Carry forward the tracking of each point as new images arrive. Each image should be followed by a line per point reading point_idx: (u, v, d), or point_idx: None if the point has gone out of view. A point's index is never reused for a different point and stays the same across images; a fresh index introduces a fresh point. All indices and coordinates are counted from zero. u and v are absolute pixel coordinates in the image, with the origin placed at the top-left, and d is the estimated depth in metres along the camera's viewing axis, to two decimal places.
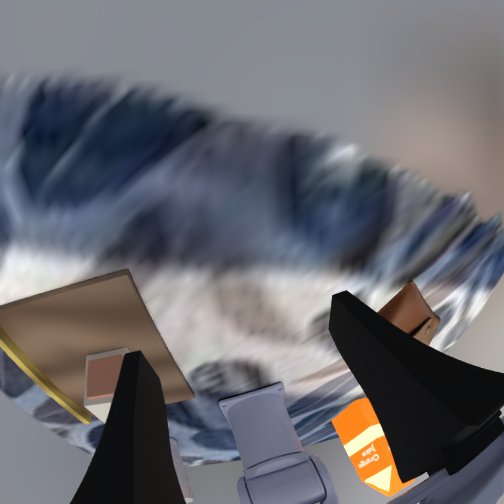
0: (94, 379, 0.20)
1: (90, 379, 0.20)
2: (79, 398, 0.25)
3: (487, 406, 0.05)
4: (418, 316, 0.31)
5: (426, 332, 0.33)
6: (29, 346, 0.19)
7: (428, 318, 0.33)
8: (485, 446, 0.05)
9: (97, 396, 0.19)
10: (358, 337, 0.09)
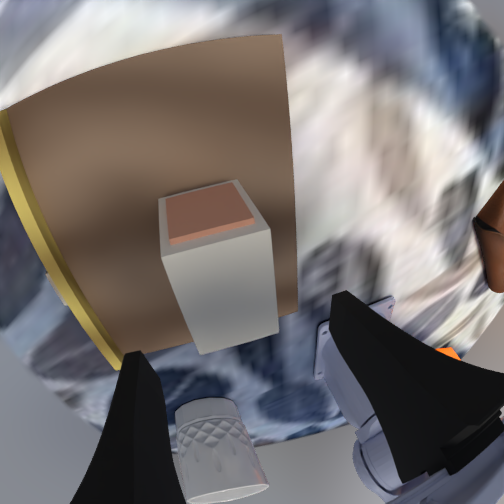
0: (183, 214, 0.12)
1: (173, 216, 0.12)
2: (115, 315, 0.17)
3: (487, 406, 0.05)
4: None
5: None
6: (54, 181, 0.12)
7: None
8: (485, 446, 0.05)
9: (193, 238, 0.11)
10: (358, 336, 0.09)
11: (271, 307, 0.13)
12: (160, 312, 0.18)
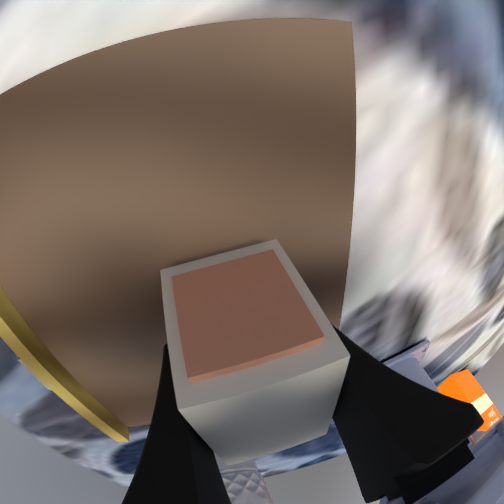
0: (205, 319, 0.07)
1: (188, 320, 0.07)
2: (112, 393, 0.13)
3: (443, 442, 0.04)
4: None
5: None
6: (7, 246, 0.07)
7: None
8: (448, 477, 0.05)
9: (227, 371, 0.06)
10: None
11: (324, 420, 0.09)
12: None
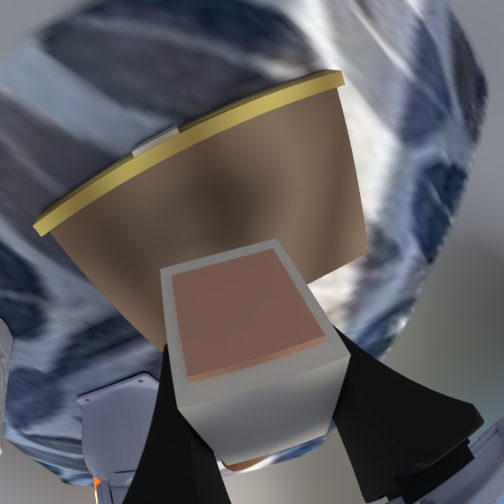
0: (205, 318, 0.07)
1: (189, 319, 0.07)
2: (115, 206, 0.15)
3: (443, 442, 0.04)
4: None
5: None
6: (271, 130, 0.15)
7: None
8: (447, 477, 0.05)
9: (227, 370, 0.06)
10: None
11: (324, 420, 0.09)
12: (131, 250, 0.17)
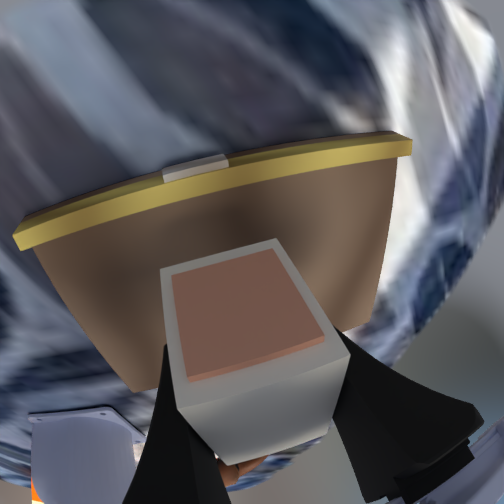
0: (204, 318, 0.07)
1: (188, 319, 0.07)
2: (120, 234, 0.12)
3: (443, 442, 0.04)
4: (243, 474, 0.35)
5: (226, 486, 0.35)
6: (323, 186, 0.13)
7: None
8: (447, 477, 0.05)
9: (227, 370, 0.06)
10: None
11: (325, 420, 0.09)
12: (127, 288, 0.14)
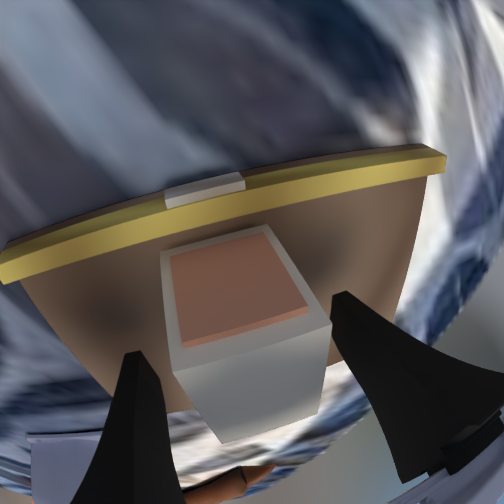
0: (199, 292, 0.08)
1: (184, 293, 0.08)
2: (116, 264, 0.10)
3: (487, 406, 0.05)
4: (250, 485, 0.34)
5: None
6: (350, 207, 0.12)
7: None
8: (485, 446, 0.05)
9: (219, 337, 0.07)
10: (358, 337, 0.09)
11: (314, 396, 0.10)
12: (127, 321, 0.12)
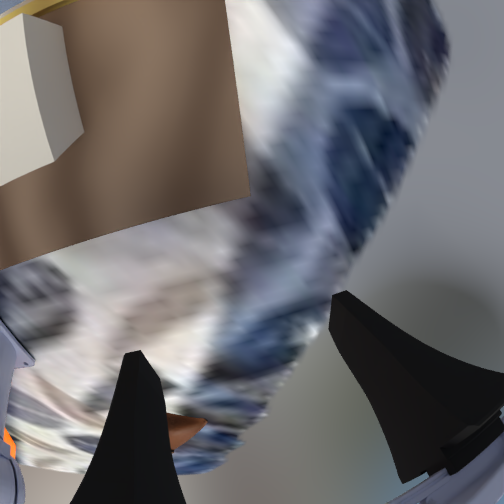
0: None
1: None
2: None
3: (487, 406, 0.05)
4: (178, 443, 0.32)
5: None
6: (131, 6, 0.10)
7: (173, 451, 0.33)
8: (485, 446, 0.05)
9: None
10: (358, 337, 0.09)
11: (33, 114, 0.07)
12: None
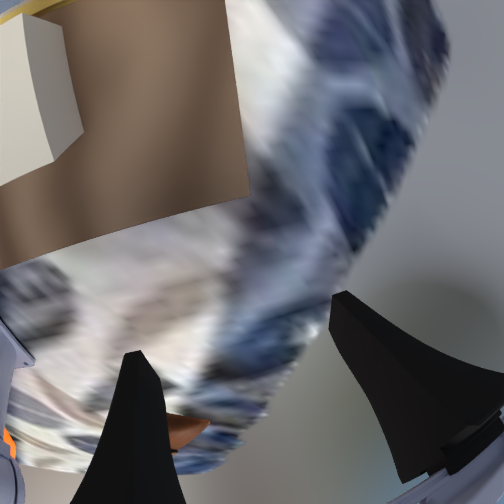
0: None
1: None
2: None
3: (487, 406, 0.05)
4: (182, 444, 0.32)
5: None
6: (131, 6, 0.10)
7: (177, 451, 0.33)
8: (485, 446, 0.05)
9: None
10: (358, 336, 0.09)
11: (33, 114, 0.07)
12: None
